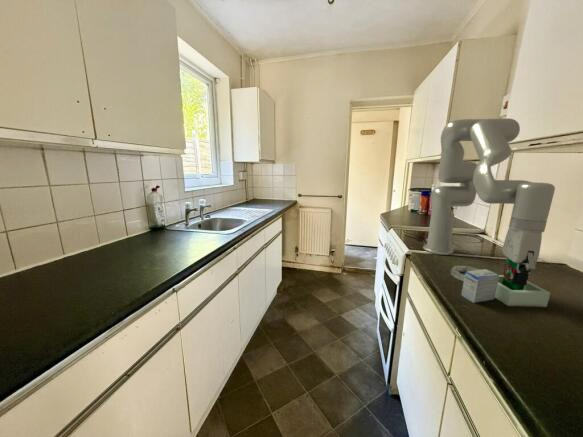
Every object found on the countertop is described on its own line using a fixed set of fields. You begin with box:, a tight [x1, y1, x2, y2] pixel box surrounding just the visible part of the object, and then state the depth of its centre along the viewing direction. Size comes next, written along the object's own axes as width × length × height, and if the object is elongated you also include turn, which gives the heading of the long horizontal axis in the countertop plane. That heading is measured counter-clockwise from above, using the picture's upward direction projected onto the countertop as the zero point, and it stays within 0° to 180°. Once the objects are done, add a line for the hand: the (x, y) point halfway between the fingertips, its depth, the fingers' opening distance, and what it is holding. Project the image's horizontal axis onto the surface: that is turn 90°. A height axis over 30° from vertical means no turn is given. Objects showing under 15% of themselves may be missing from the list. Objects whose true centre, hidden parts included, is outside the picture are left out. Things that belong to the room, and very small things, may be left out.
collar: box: [450, 265, 481, 282], centre depth 86 cm, size 11×11×2 cm
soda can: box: [502, 257, 526, 290], centre depth 72 cm, size 5×5×12 cm
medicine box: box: [461, 268, 500, 303], centre depth 72 cm, size 8×4×9 cm, turn 102°
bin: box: [494, 274, 551, 308], centre depth 73 cm, size 11×11×5 cm
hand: (514, 279), depth 72 cm, fingers closed on soda can, 5 cm apart
